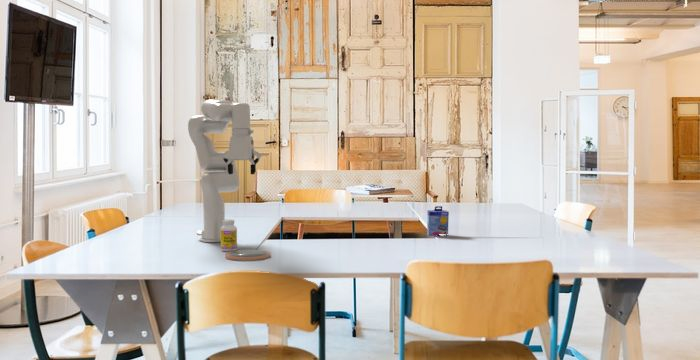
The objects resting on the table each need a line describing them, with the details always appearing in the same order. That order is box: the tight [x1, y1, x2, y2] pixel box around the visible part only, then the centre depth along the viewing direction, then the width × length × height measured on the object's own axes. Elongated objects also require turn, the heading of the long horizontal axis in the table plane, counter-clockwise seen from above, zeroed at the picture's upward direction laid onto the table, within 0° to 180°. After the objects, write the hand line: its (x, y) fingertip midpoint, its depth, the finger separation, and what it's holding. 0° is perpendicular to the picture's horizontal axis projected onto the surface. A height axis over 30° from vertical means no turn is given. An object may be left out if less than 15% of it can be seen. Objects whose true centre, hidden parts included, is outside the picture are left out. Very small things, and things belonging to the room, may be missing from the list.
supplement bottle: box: [220, 219, 238, 253], centre depth 271 cm, size 7×7×13 cm
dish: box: [224, 249, 272, 262], centre depth 257 cm, size 18×18×1 cm
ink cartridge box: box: [426, 205, 450, 237], centre depth 313 cm, size 10×6×14 cm, turn 94°
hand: (241, 174), depth 269 cm, fingers open, 9 cm apart
